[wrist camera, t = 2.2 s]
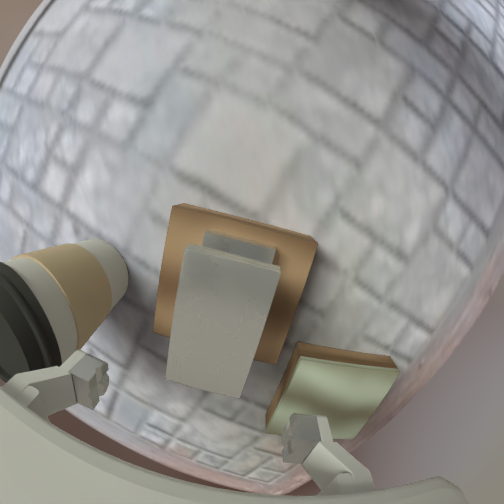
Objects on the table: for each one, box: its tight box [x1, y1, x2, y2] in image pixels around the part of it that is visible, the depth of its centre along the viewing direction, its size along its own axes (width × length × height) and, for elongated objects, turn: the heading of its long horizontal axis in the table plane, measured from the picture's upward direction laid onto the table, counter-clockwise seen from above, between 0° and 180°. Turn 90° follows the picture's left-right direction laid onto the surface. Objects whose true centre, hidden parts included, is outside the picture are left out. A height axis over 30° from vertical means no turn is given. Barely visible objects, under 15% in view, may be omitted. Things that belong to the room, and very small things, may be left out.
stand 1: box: [153, 203, 318, 364], centre depth 22 cm, size 11×11×3 cm
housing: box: [165, 229, 281, 398], centre depth 18 cm, size 9×5×6 cm, turn 166°
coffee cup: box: [0, 239, 129, 383], centre depth 17 cm, size 9×9×15 cm
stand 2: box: [266, 342, 400, 439], centre depth 25 cm, size 11×11×3 cm
